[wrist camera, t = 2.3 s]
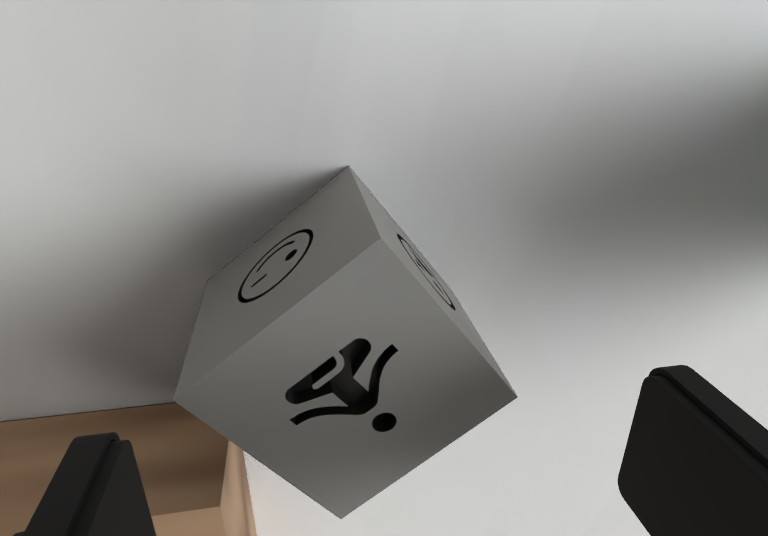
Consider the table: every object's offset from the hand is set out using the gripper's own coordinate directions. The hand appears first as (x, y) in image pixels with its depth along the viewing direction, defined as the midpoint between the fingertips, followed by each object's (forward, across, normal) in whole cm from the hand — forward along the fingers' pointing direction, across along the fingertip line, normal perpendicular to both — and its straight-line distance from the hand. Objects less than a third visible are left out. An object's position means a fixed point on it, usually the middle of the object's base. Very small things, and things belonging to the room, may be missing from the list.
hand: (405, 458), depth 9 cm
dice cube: (+7, +1, 0) cm, 7 cm away
